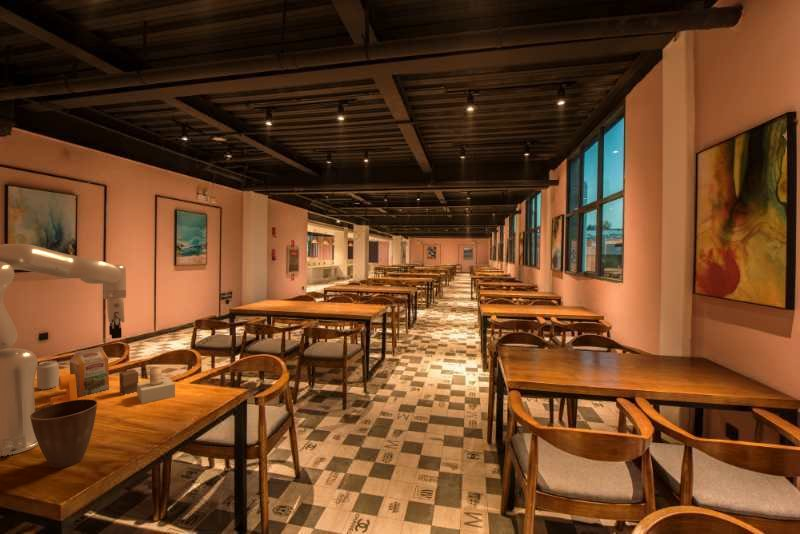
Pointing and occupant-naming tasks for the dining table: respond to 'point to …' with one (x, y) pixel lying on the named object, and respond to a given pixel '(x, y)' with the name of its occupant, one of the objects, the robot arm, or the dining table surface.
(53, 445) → the plant pot
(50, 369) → the can
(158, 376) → the birch dowel
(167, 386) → the bore block
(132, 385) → the walnut square bit
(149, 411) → the dining table surface
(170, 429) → the dining table surface
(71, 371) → the milk carton
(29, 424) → the robot arm
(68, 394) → the bracket
